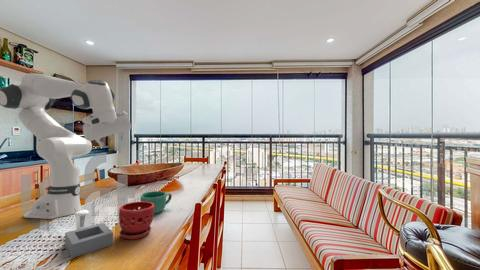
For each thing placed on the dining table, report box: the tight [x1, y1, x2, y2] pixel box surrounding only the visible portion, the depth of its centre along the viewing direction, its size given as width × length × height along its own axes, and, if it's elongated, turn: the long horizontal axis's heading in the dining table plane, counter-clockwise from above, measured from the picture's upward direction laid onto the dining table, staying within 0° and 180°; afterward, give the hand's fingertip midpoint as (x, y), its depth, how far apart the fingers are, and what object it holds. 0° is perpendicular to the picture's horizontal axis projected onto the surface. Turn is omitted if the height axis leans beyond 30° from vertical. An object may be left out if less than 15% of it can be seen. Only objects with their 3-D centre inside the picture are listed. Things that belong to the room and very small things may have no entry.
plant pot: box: [118, 201, 155, 240], centre depth 85 cm, size 13×13×12 cm
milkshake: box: [74, 209, 90, 230], centre depth 84 cm, size 4×5×10 cm
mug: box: [140, 190, 172, 215], centre depth 111 cm, size 17×13×10 cm
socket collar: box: [64, 222, 114, 259], centre depth 76 cm, size 12×12×4 cm
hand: (112, 142), depth 101 cm, fingers open, 8 cm apart
